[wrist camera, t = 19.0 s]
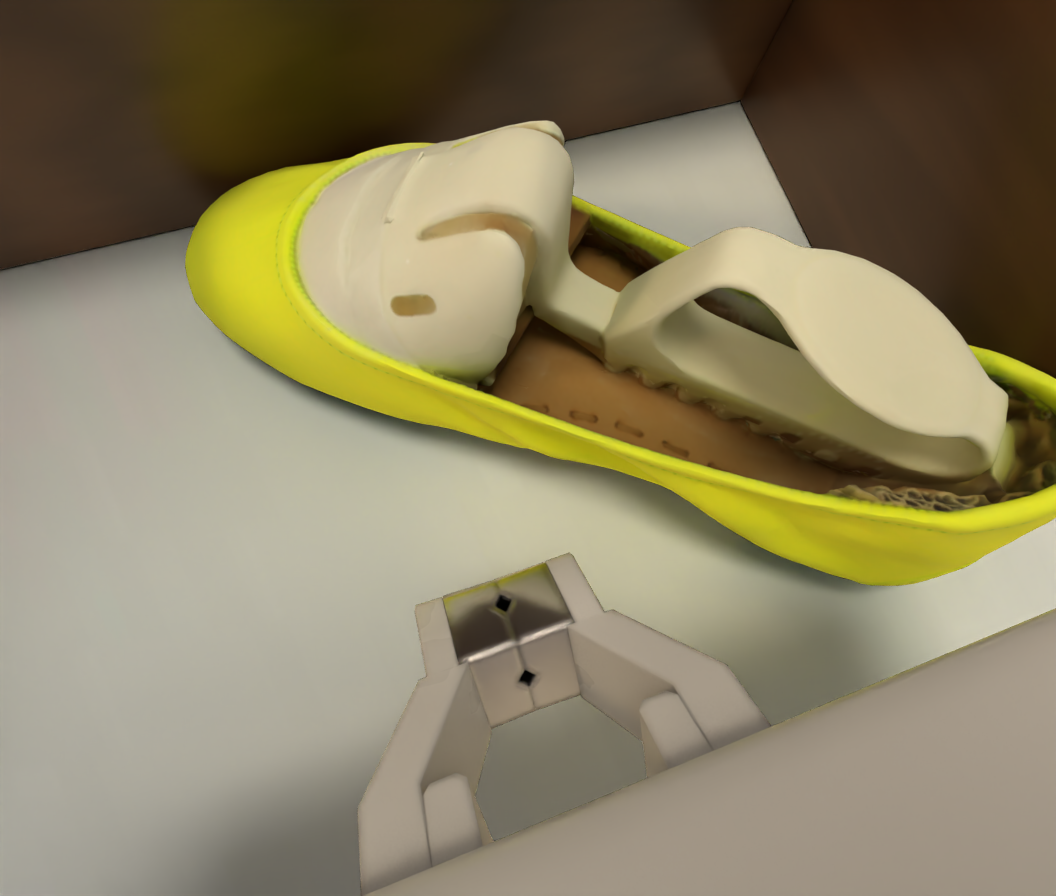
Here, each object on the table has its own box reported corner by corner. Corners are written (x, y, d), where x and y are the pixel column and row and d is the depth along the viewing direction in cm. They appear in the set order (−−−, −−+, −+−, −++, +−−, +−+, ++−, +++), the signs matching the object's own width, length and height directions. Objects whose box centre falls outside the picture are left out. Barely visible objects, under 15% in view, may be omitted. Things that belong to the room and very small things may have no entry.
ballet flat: (288, 138, 21) (171, -150, 13) (957, 406, 20) (1264, 279, 12) (162, 338, 18) (-71, 141, 11) (907, 644, 18) (1240, 675, 10)
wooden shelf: (-119, 804, 15) (-1693, 1330, 4) (-166, 264, 18) (-1110, -234, 7) (949, 435, 20) (1518, 230, 9) (759, 62, 23) (1007, -417, 12)
